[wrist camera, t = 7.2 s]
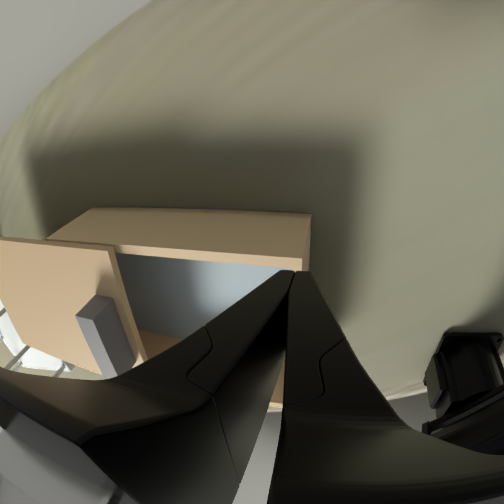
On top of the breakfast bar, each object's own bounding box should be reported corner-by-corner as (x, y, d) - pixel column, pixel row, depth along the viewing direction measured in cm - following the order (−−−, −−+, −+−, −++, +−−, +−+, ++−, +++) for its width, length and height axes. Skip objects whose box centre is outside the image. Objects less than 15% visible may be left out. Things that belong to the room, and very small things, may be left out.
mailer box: (311, 213, 21) (301, 258, 16) (303, 354, 27) (293, 409, 22) (92, 207, 25) (45, 238, 20) (126, 325, 32) (96, 364, 26)
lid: (113, 246, 18) (83, 272, 16) (158, 386, 25) (143, 413, 22) (-20, 234, 23) (-42, 249, 20) (25, 339, 29) (10, 356, 26)
